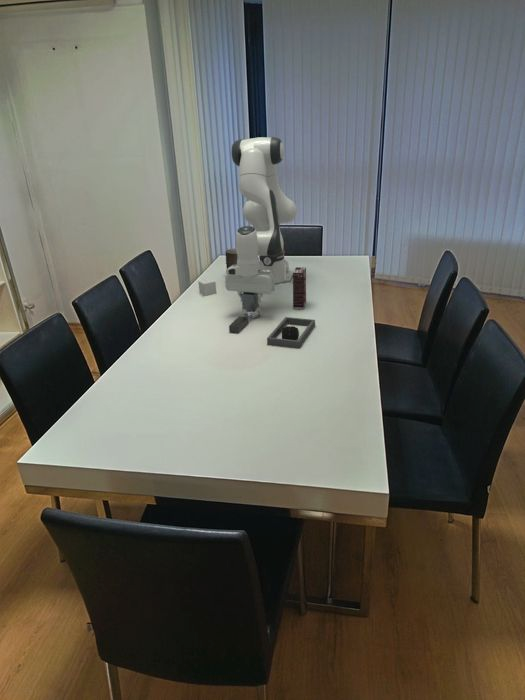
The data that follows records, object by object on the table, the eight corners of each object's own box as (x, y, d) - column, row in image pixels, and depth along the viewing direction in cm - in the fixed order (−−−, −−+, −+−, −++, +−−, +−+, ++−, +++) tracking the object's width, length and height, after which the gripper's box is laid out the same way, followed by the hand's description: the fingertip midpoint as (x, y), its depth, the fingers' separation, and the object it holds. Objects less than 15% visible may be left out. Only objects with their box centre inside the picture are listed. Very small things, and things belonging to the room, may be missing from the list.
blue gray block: (247, 304, 202) (246, 289, 199) (259, 305, 200) (258, 290, 198) (242, 309, 198) (241, 294, 195) (254, 310, 196) (253, 295, 193)
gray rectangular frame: (285, 322, 192) (285, 316, 191) (315, 325, 188) (315, 319, 187) (267, 344, 175) (266, 338, 174) (299, 348, 171) (299, 341, 170)
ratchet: (246, 312, 205) (246, 298, 202) (262, 313, 203) (261, 300, 200) (225, 332, 187) (224, 317, 184) (242, 334, 185) (241, 319, 182)
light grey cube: (216, 293, 229) (215, 281, 226) (205, 296, 226) (203, 284, 223) (210, 290, 233) (209, 278, 231) (199, 293, 231) (198, 281, 228)
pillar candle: (224, 279, 248) (222, 250, 242) (230, 273, 257) (229, 245, 250) (242, 280, 246) (240, 251, 239) (248, 274, 254) (246, 246, 247)
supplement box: (304, 309, 204) (303, 273, 198) (292, 309, 205) (292, 273, 199) (306, 302, 212) (306, 267, 205) (295, 302, 213) (295, 267, 206)
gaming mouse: (280, 348, 173) (279, 337, 171) (282, 331, 186) (282, 321, 185) (297, 347, 172) (297, 337, 171) (299, 330, 186) (298, 321, 184)
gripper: (276, 268, 191) (277, 301, 197) (228, 265, 198) (231, 297, 204) (270, 273, 186) (272, 306, 192) (222, 269, 193) (225, 302, 199)
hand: (250, 302), depth 198 cm, fingers closed on blue gray block, 5 cm apart
